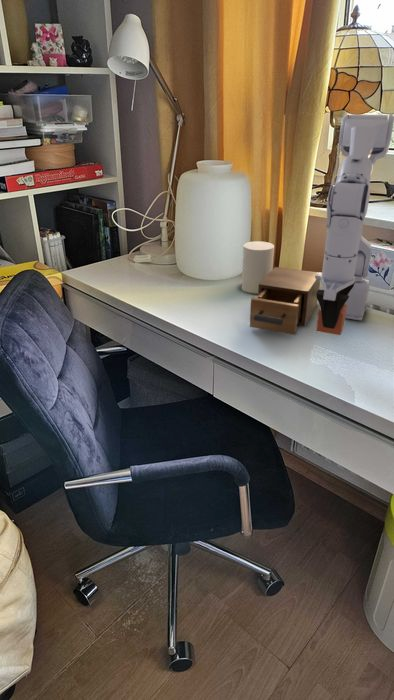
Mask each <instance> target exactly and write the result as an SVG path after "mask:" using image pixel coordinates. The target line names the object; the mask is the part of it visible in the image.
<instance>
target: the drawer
mask: <svg viewBox="0 0 394 700" xmlns="http://www.w3.org/2000/svg"><path fill="white" fill-rule="evenodd" d="M304 295H305V294H300V293H293V292H286V291H280V290H273V289H266V288H265V289H264V290H263V291H262V292H261V293H260V295H259V296H258V295H257V297H252V298H251V299H250V312H249V313H250V314H249V327H250V328H254V329H259V330H266V331H271V332H276V333H282V334H287V335H296V333H297V328H298V327H297V326H298V325H297V324H298V322H299V320H300V319H301V317H302V313H303V304H304Z"/></svg>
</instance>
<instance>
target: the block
mask: <svg viewBox="0 0 394 700" xmlns="http://www.w3.org/2000/svg"><path fill="white" fill-rule="evenodd" d="M346 310H347V305H345V304H344V305H343V307H342V309H341V311H340V314H339V317H338V320H337V323H336V326H335V328H334V329H332V328H326V327H323V323H322V314H321V308H320V307H319V309H318V314H317V315H318V316H317V323H316V330H315V331H316V332H320V333H324V334H325V333H326V334H330V335H337V336H341V334H342V333H343V329H344V327H345V322H346V318H345V317H346Z"/></svg>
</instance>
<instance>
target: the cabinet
mask: <svg viewBox="0 0 394 700" xmlns="http://www.w3.org/2000/svg"><path fill="white" fill-rule="evenodd" d="M317 272H318V271H310V270H303V269H295V268H287V267H280V266H274V267H273V270H272V271H271V272H270V273H269V274H268V275H267V276H266V277H265V278H264V279H263V280H262V281H261V282H260V283H259V289H258V294H257V297H258V296H259V295H260V293H261V292H262V291H263V290H264V289H265V288H266V289H273V290H280V291H286V292H293V293H300V294H305V295H304V304H303V313H302V317H301V319H300V320H299V322H298V324H297V326H301V327H302V326H303V327H305V326H306V325H307V323H308V321H309V319H310V317H311V316H312V314H313V312H314V311H315V309H316V307H317V305H318V300H317V297H316V293H317V291H318V289H319V290H320V283H321V280H320V279H315V274H316V273H317Z"/></svg>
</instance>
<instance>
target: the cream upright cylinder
mask: <svg viewBox="0 0 394 700" xmlns="http://www.w3.org/2000/svg"><path fill="white" fill-rule="evenodd" d="M242 247H243V248H242V272H241V290H242V291H243V292H245V293H248V294H257V295H258V289H259V283H260V282H261V281H262V280H263V279H264V278H265V277H266V276H267V275H268V274H269V273H270V272H271V271H272V270H273V269H274V257H275V256H274V255H275V244H273V243H271V242H267V241H260V240H259V241H258V240H257V241H256V240H255V241H248V242H245V243H243V246H242Z"/></svg>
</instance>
